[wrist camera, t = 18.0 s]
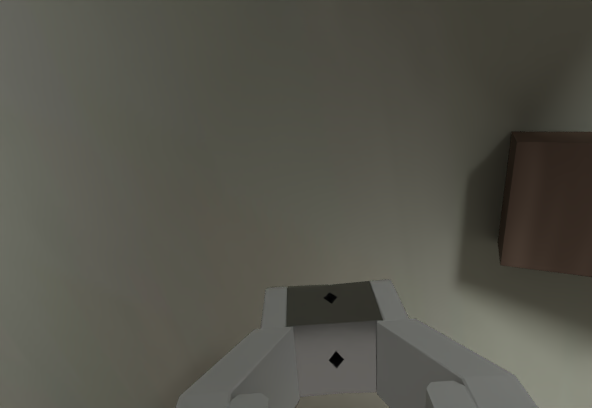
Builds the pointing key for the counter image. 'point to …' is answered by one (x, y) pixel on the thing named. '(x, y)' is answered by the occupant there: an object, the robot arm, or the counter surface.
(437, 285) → the counter surface
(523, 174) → the tile
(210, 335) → the counter surface
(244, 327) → the counter surface
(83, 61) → the counter surface
